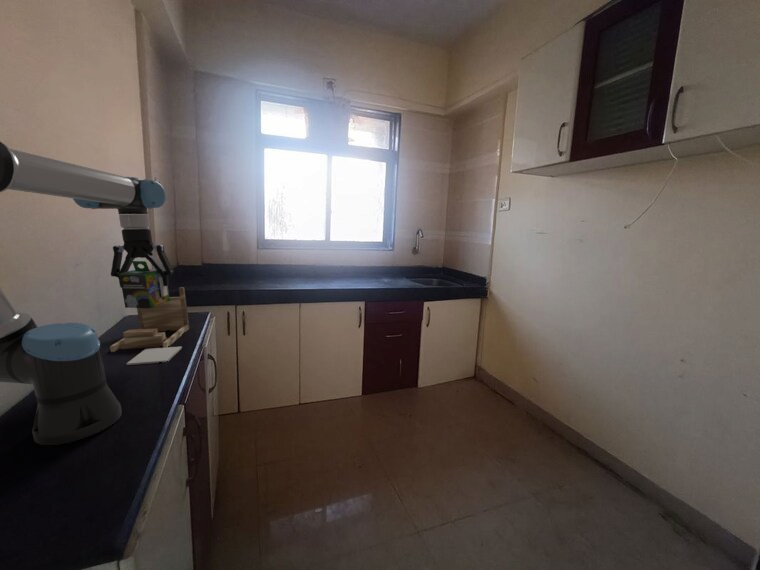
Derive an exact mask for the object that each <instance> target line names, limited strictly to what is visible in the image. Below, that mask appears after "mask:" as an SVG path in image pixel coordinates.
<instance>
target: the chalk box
mask: <svg viewBox="0 0 760 570" xmlns="http://www.w3.org/2000/svg"><path fill="white" fill-rule="evenodd" d="M132 265H133V268H134V269H133V270H128V272H124V273H120V274H119V276H120V281H121V286H122V288H121V290H122V292H121V293H122V297H123V301H124V308H125V309H126V308H127V309H128V308H132V309H134V308H135V309H137V308H148V309H151V308H153V307H156V306H158V305H160V304H163V303H166V302H168V301H170V298H169V297H170V291H169V287H168V286H169V285H168V286H167V293H168V295H166V296H164V297H162V296H161V289H160V282H159V277H161V275H160V274H159V272H158V271H157V270H156V269H155V268H149V265H148V263H147V262H146V261H145V260H139V261H138V260H133V262H132ZM139 265H141V266H143V268H140V267H139Z"/></svg>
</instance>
